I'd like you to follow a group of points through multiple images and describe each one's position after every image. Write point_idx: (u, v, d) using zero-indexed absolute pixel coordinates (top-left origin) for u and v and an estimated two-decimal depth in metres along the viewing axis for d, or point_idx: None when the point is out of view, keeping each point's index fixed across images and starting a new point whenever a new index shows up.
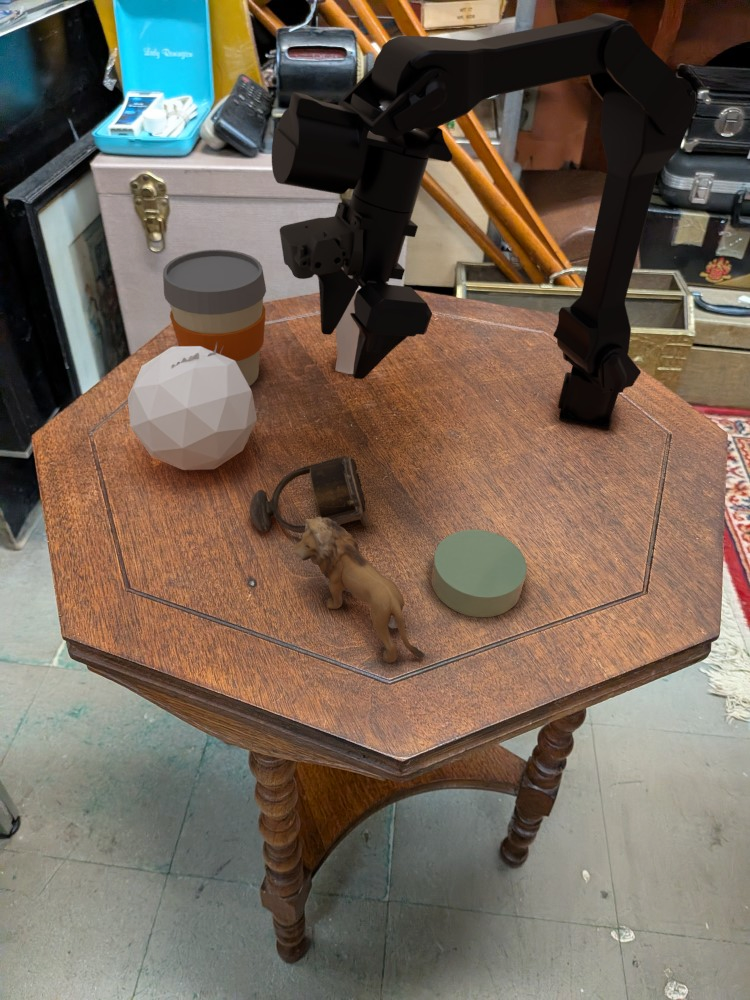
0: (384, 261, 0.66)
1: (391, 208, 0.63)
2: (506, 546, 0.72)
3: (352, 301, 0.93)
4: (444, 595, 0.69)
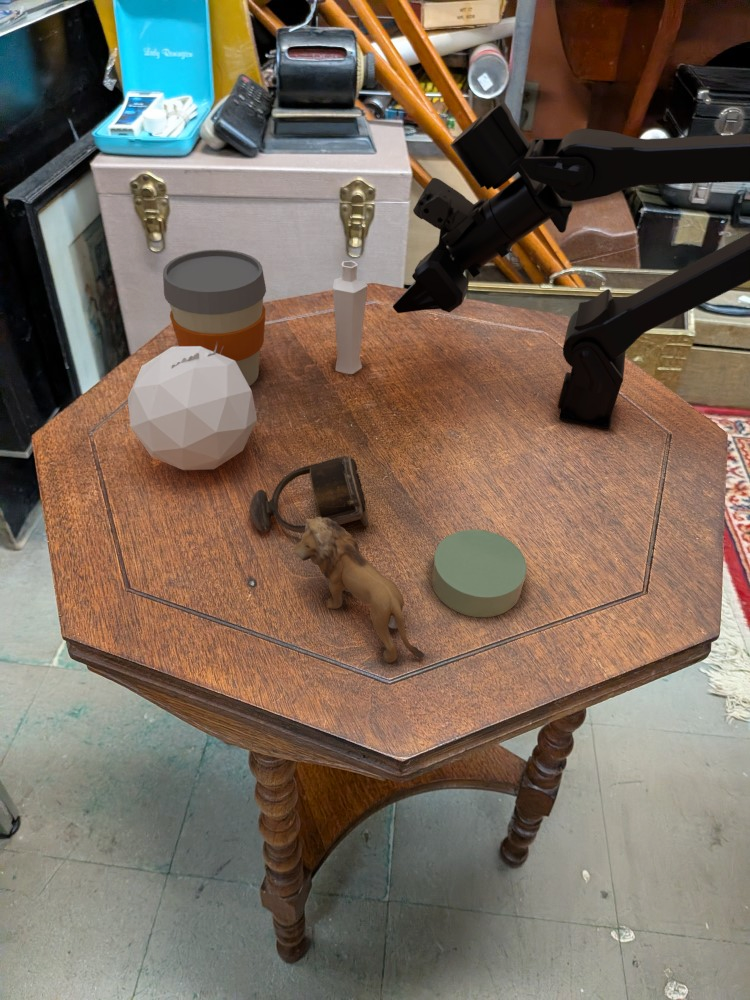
0: (470, 252, 0.83)
1: (499, 223, 0.80)
2: (506, 546, 0.72)
3: (352, 301, 0.93)
4: (444, 595, 0.69)
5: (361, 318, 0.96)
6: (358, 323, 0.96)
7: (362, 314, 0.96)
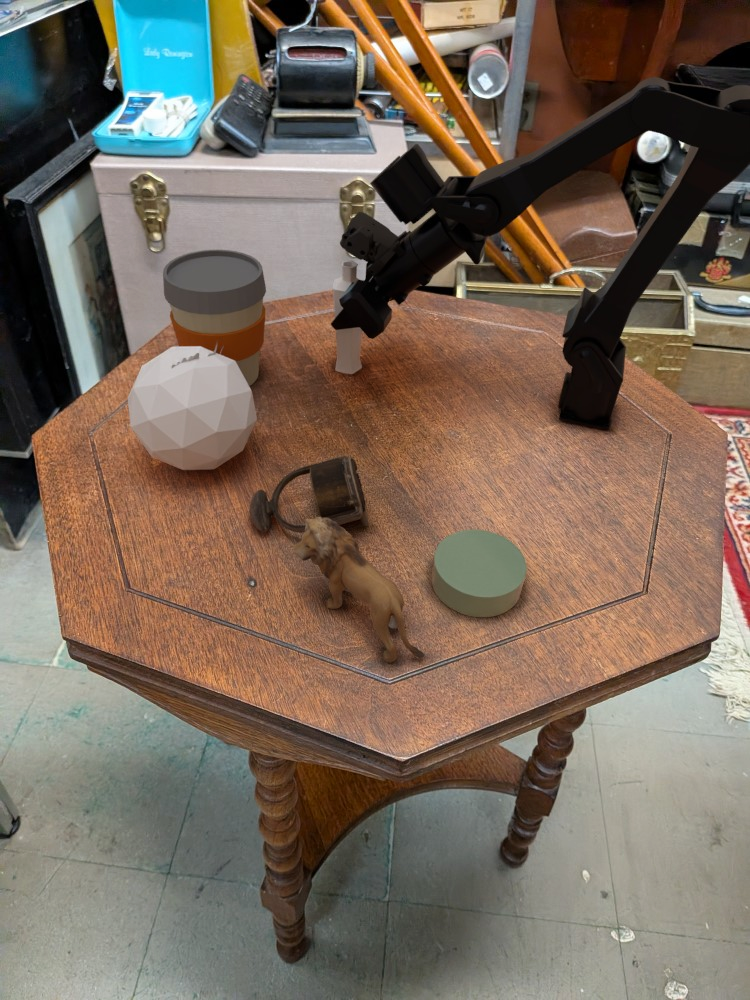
0: (394, 282, 0.88)
1: (418, 256, 0.85)
2: (506, 546, 0.72)
3: None
4: (444, 595, 0.69)
5: None
6: None
7: None
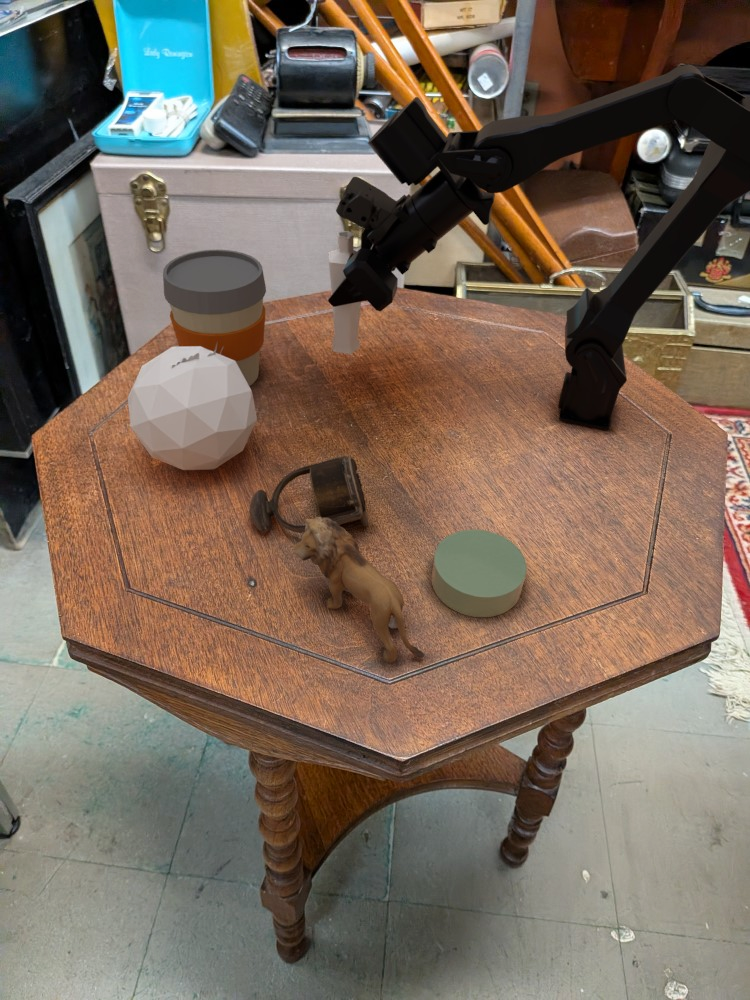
0: (397, 250, 0.83)
1: (423, 219, 0.80)
2: (506, 546, 0.72)
3: None
4: (444, 595, 0.69)
5: None
6: None
7: None
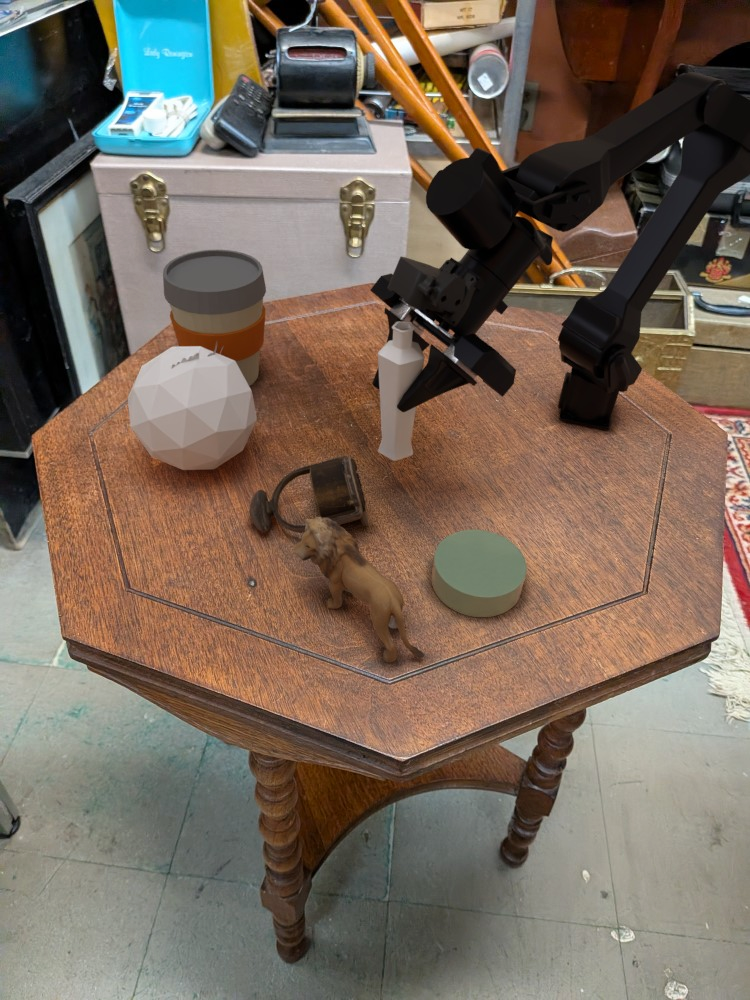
0: (476, 323, 0.70)
1: (503, 280, 0.69)
2: (506, 546, 0.72)
3: (421, 368, 0.71)
4: (444, 595, 0.69)
5: None
6: None
7: None
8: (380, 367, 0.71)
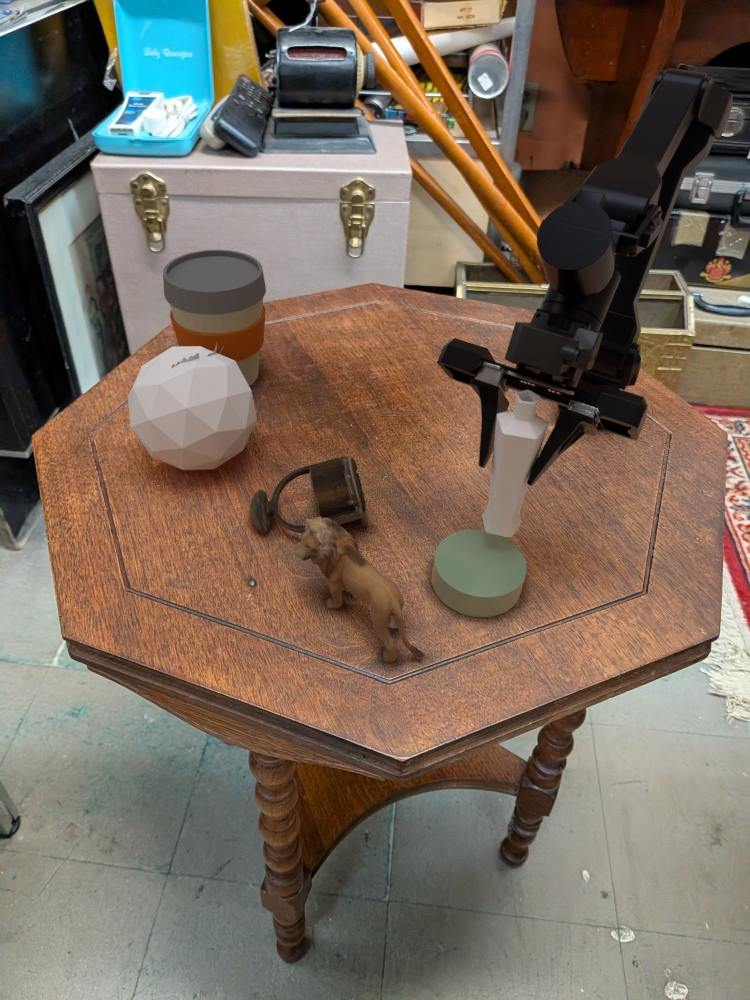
0: (582, 371, 0.65)
1: (600, 320, 0.64)
2: (506, 546, 0.72)
3: None
4: (444, 595, 0.69)
5: None
6: None
7: None
8: (505, 446, 0.63)
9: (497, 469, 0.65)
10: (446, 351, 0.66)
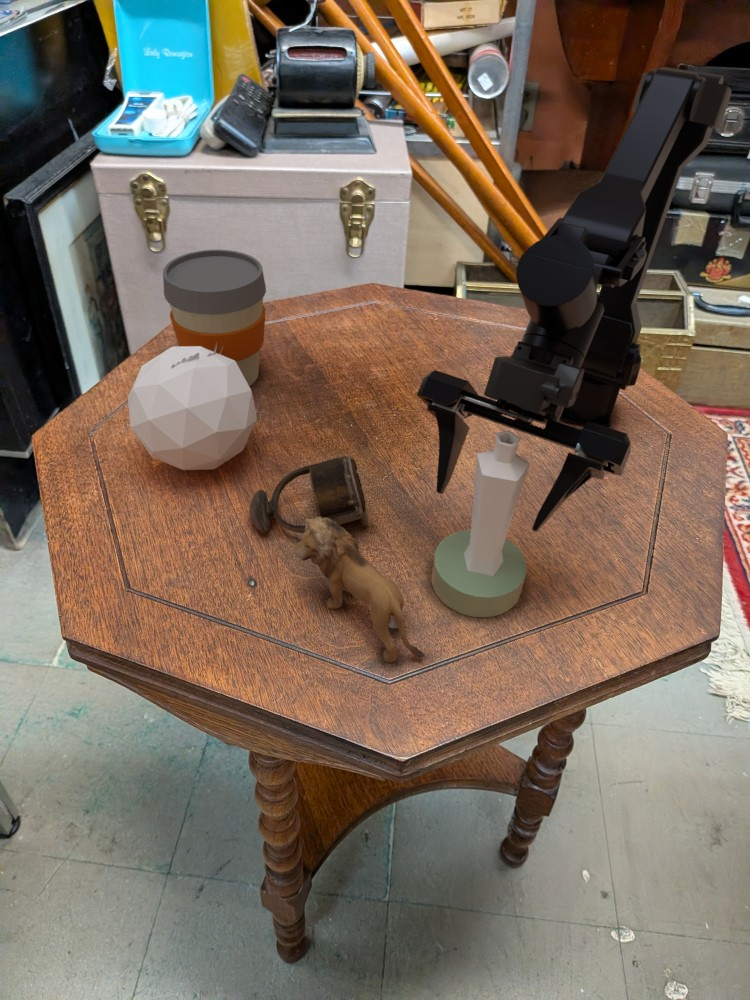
0: None
1: (583, 353, 0.63)
2: (506, 546, 0.72)
3: None
4: (444, 595, 0.69)
5: None
6: None
7: None
8: (485, 488, 0.62)
9: (478, 509, 0.64)
10: (426, 384, 0.64)
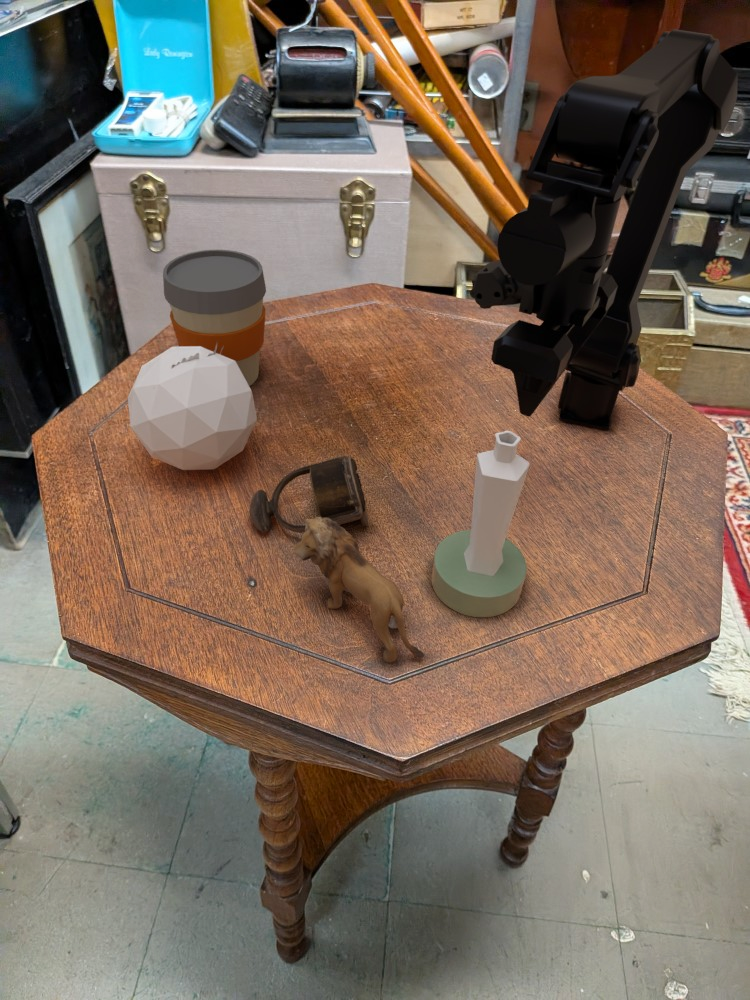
0: (556, 303, 0.65)
1: (603, 253, 0.63)
2: (506, 546, 0.72)
3: None
4: (444, 595, 0.69)
5: None
6: None
7: None
8: (485, 488, 0.62)
9: (478, 509, 0.64)
10: None
